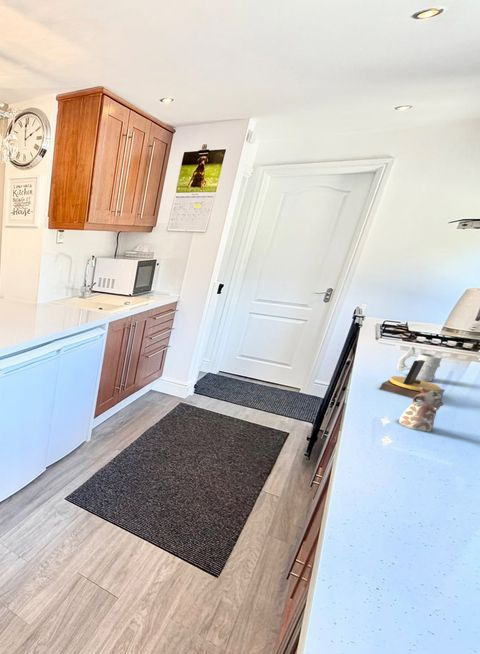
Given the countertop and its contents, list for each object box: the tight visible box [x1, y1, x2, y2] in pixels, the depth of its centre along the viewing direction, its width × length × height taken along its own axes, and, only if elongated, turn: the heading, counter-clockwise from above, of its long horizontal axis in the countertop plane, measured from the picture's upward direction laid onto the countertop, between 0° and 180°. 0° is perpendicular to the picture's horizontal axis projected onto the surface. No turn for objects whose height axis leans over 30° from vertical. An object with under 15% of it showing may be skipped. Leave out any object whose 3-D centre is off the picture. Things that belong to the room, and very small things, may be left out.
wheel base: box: [379, 379, 446, 401], centre depth 150 cm, size 14×14×2 cm
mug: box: [396, 346, 443, 382], centre depth 165 cm, size 8×12×12 cm, turn 39°
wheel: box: [389, 359, 442, 392], centre depth 147 cm, size 13×13×10 cm
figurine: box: [398, 388, 444, 433], centre depth 121 cm, size 7×7×12 cm
